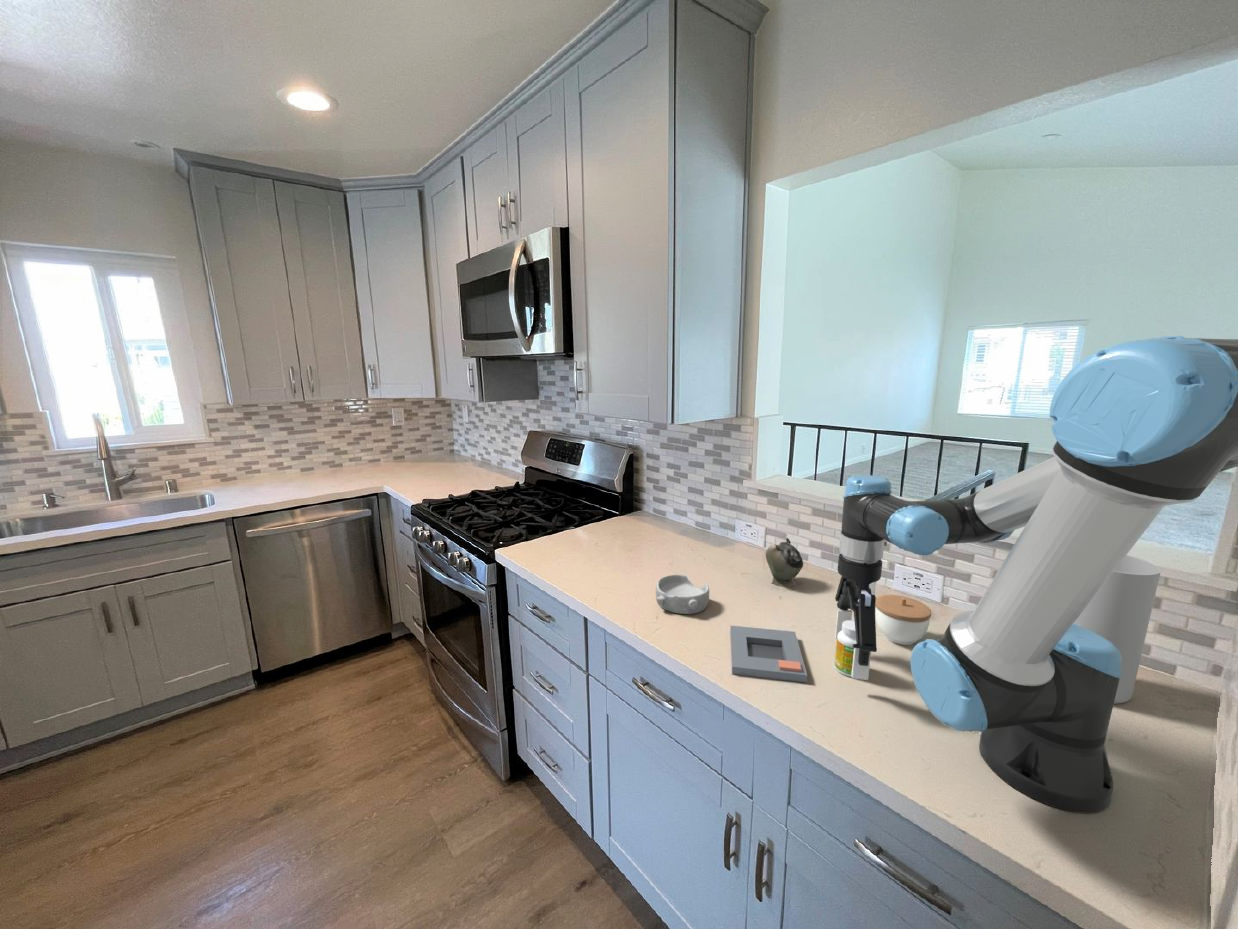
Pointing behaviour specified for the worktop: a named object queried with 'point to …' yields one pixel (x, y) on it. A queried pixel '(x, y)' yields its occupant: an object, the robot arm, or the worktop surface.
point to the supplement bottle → (845, 648)
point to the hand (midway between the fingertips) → (850, 657)
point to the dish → (681, 595)
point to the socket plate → (766, 654)
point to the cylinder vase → (1124, 615)
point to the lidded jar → (902, 618)
